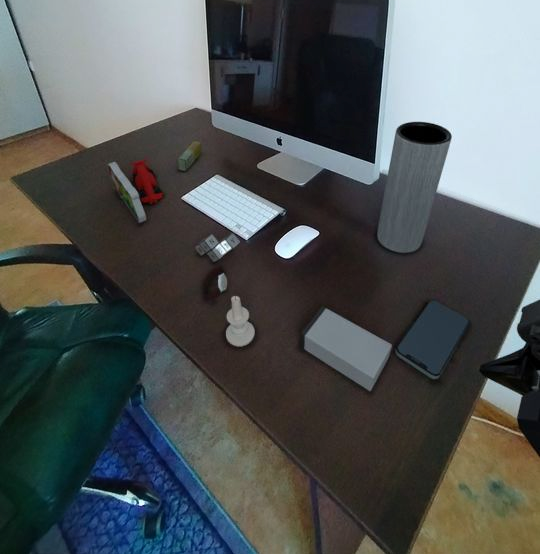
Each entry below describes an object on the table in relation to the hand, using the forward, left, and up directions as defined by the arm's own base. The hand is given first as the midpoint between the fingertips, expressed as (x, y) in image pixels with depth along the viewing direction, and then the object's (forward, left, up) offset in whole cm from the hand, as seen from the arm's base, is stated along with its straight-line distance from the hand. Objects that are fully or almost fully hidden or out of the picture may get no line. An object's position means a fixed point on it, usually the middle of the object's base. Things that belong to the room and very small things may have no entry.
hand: (481, 370), depth 46 cm
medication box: (+87, -37, -14) cm, 96 cm away
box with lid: (+11, -1, -11) cm, 16 cm away
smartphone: (+6, -12, -14) cm, 19 cm away
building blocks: (+52, -9, -14) cm, 55 cm away
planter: (+19, -35, -14) cm, 42 cm away
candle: (+35, +5, -14) cm, 38 cm away
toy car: (+87, -19, -14) cm, 90 cm away
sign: (+85, -11, -14) cm, 87 cm away
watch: (+46, -1, -14) cm, 48 cm away
